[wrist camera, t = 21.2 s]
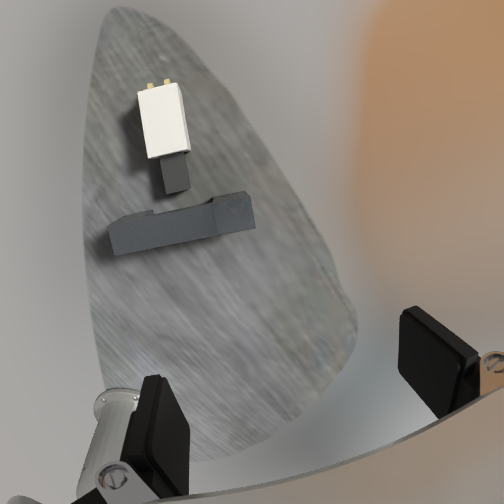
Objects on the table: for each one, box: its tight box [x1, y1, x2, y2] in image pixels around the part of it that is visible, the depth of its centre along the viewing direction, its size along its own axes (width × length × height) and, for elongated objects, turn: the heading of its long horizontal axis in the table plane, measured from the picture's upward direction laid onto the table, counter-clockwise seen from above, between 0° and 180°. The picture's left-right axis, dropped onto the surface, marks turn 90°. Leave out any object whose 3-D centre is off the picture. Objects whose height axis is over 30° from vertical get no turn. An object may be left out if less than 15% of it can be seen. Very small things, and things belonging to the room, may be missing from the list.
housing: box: [107, 191, 256, 256], centre depth 31 cm, size 3×14×6 cm, turn 99°
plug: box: [138, 79, 191, 194], centre depth 30 cm, size 12×4×4 cm, turn 10°
